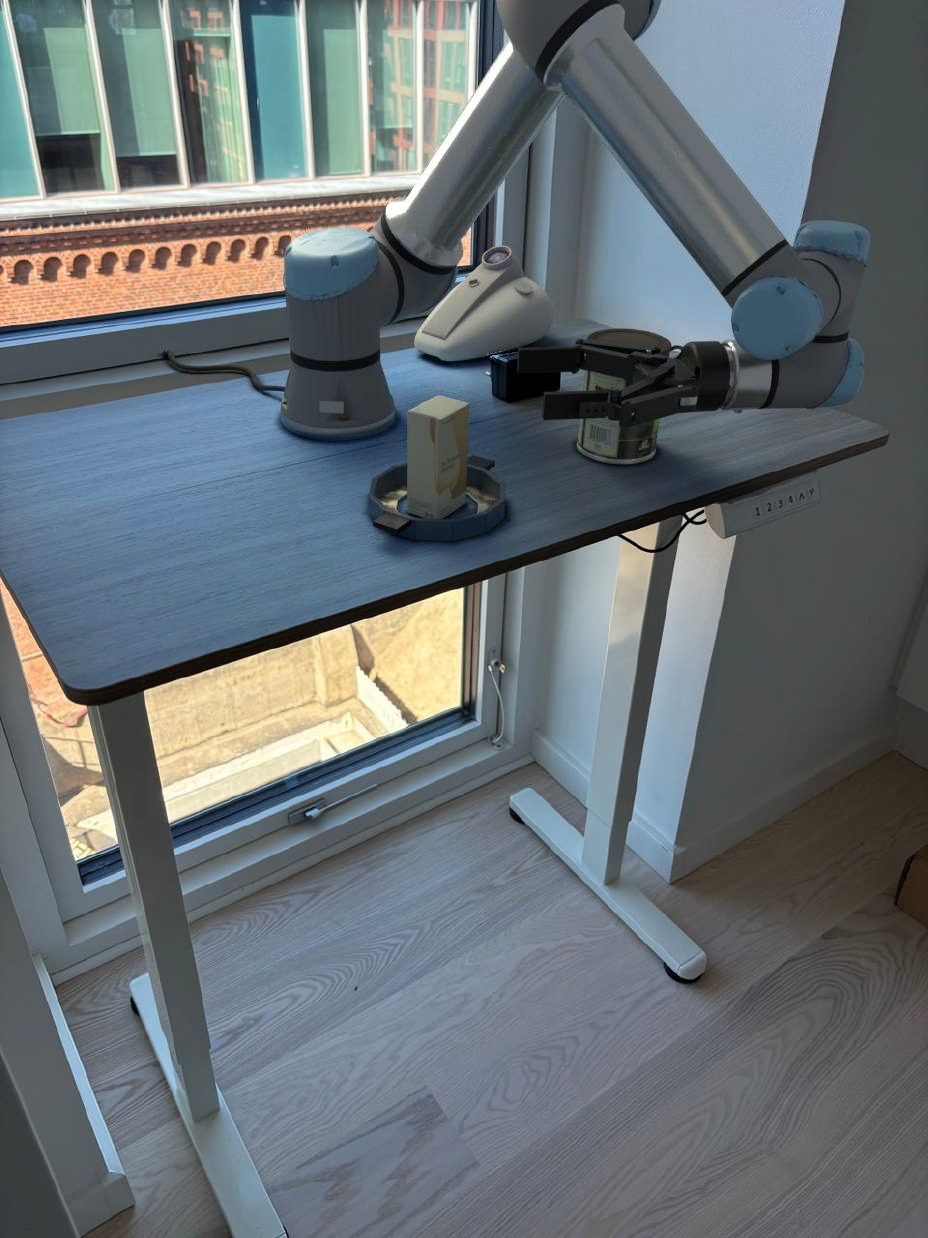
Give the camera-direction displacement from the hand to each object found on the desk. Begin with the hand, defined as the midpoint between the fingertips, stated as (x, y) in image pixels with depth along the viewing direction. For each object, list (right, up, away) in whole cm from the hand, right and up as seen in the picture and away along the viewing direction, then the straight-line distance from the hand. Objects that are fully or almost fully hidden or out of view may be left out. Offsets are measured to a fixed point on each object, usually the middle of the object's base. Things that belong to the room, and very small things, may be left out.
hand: (529, 382), depth 103 cm
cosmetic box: (-10, -13, +7) cm, 18 cm away
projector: (-5, +19, +54) cm, 57 cm away
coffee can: (+13, -3, +22) cm, 26 cm away
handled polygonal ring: (-10, -13, +7) cm, 18 cm away
